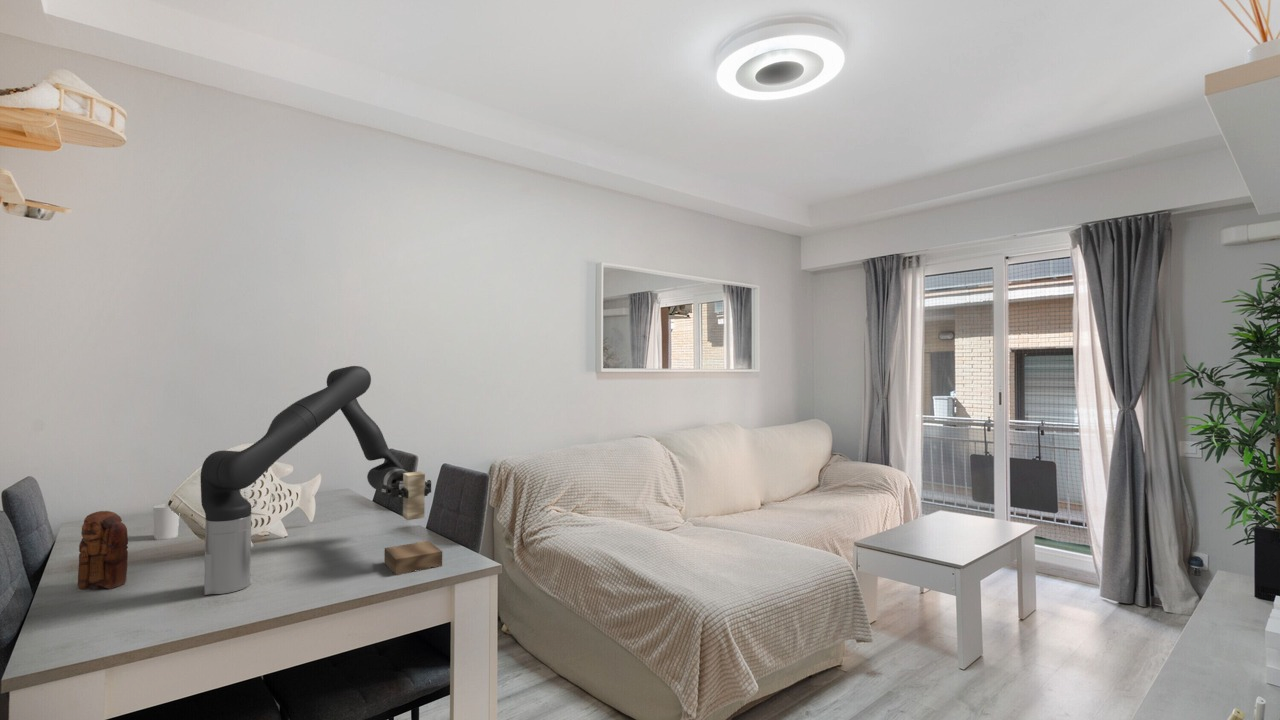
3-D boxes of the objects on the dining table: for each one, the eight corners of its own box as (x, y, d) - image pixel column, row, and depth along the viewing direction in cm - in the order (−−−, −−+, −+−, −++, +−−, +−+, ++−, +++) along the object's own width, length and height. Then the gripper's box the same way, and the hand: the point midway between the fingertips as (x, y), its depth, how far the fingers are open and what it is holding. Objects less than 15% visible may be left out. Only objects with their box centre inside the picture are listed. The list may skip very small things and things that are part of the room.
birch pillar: (407, 520, 160) (407, 475, 160) (402, 516, 163) (403, 473, 163) (424, 517, 162) (424, 473, 162) (419, 514, 166) (419, 471, 166)
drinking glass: (179, 533, 191) (179, 501, 192) (180, 537, 186) (180, 505, 186) (152, 536, 187) (153, 504, 187) (152, 541, 182) (153, 508, 182)
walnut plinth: (395, 574, 154) (396, 559, 154) (384, 562, 164) (384, 548, 164) (442, 566, 161) (442, 551, 161) (428, 554, 171) (428, 540, 171)
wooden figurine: (65, 589, 143) (66, 514, 143) (91, 579, 149) (92, 508, 149) (111, 590, 142) (112, 515, 142) (135, 581, 148) (136, 509, 149)
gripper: (374, 472, 170) (389, 482, 156) (424, 467, 179) (443, 476, 165) (373, 498, 170) (389, 511, 156) (424, 492, 179) (443, 503, 165)
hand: (416, 493), depth 161 cm, fingers closed on birch pillar, 4 cm apart
